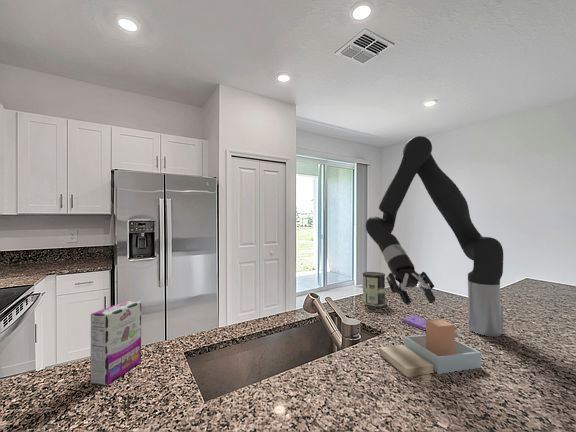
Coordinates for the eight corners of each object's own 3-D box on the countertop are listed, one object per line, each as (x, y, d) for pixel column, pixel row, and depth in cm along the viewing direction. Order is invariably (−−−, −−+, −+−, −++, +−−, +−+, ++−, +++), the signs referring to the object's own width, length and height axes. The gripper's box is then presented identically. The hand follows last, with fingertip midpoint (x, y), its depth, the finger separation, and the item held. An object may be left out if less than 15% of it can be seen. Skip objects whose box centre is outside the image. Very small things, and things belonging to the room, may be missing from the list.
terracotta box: (440, 353, 79) (440, 318, 79) (455, 362, 74) (454, 324, 74) (426, 355, 77) (425, 320, 78) (439, 364, 73) (439, 326, 73)
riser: (402, 351, 80) (402, 344, 80) (433, 373, 68) (433, 365, 68) (379, 354, 78) (379, 347, 78) (407, 377, 66) (407, 368, 66)
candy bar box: (125, 360, 74) (127, 299, 74) (141, 362, 73) (142, 301, 73) (87, 384, 63) (89, 312, 64) (105, 386, 62) (107, 314, 63)
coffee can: (381, 300, 134) (380, 271, 135) (388, 306, 124) (388, 275, 124) (360, 300, 134) (360, 271, 135) (365, 306, 124) (365, 275, 125)
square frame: (441, 345, 84) (441, 332, 84) (481, 367, 71) (480, 352, 71) (404, 350, 81) (404, 336, 81) (438, 374, 68) (438, 357, 68)
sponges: (414, 320, 108) (414, 315, 108) (444, 331, 96) (444, 326, 96) (401, 322, 105) (401, 318, 105) (431, 335, 93) (431, 329, 93)
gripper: (383, 254, 90) (406, 297, 79) (420, 253, 94) (447, 295, 82) (375, 267, 95) (395, 310, 84) (410, 266, 99) (434, 307, 87)
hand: (421, 302), depth 83 cm, fingers open, 8 cm apart
